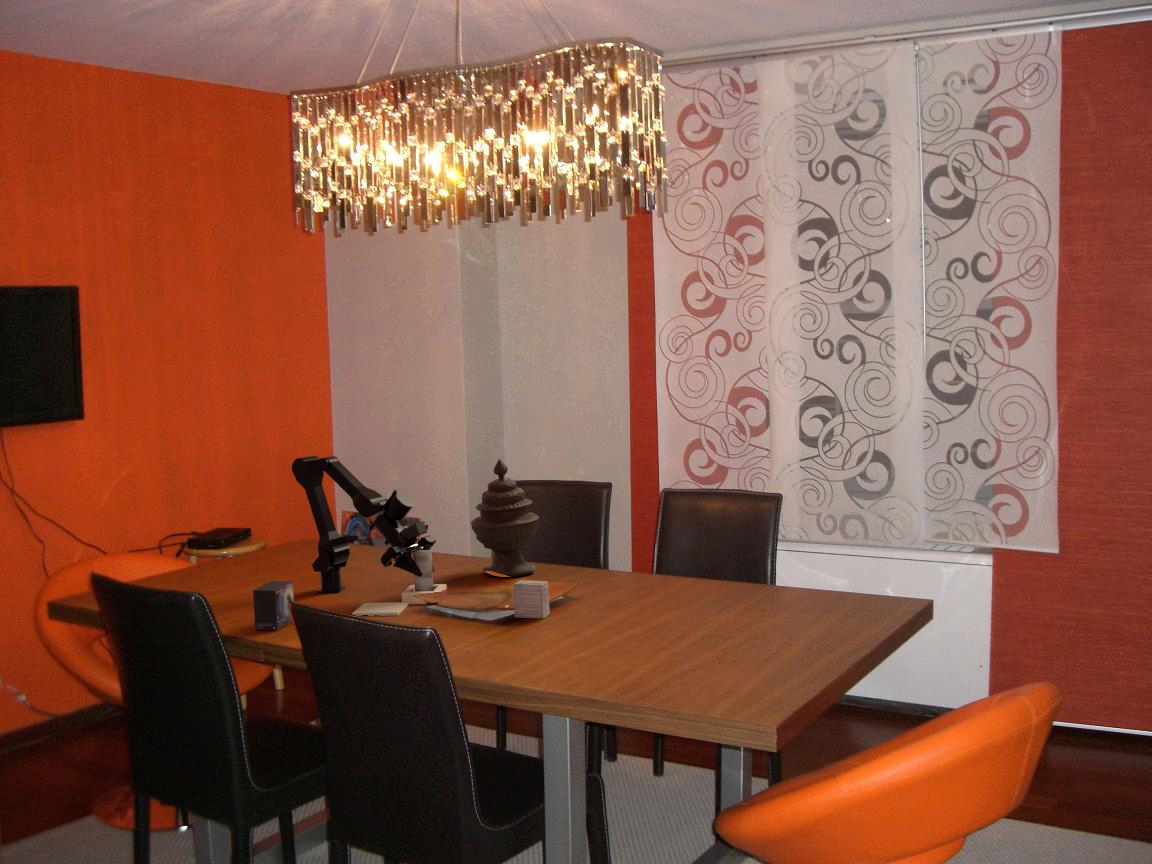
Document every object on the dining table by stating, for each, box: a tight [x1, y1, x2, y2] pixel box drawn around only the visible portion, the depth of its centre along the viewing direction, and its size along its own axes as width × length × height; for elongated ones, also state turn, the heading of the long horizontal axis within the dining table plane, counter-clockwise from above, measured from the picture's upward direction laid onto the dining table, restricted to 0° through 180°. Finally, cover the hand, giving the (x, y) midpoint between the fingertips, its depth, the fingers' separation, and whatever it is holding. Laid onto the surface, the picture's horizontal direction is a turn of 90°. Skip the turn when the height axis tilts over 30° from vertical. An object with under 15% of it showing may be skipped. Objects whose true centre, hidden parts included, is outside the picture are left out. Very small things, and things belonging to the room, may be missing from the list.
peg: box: [412, 549, 434, 592], centre depth 308 cm, size 5×5×13 cm
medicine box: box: [512, 580, 551, 619], centre depth 284 cm, size 8×4×9 cm, turn 71°
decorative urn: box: [470, 458, 540, 578], centre depth 335 cm, size 20×20×35 cm
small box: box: [252, 580, 295, 631], centre depth 287 cm, size 11×6×10 cm, turn 168°
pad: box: [351, 601, 410, 617], centre depth 298 cm, size 11×12×1 cm
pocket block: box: [401, 583, 448, 605], centre depth 308 cm, size 10×10×3 cm
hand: (427, 573), depth 307 cm, fingers closed on peg, 5 cm apart
